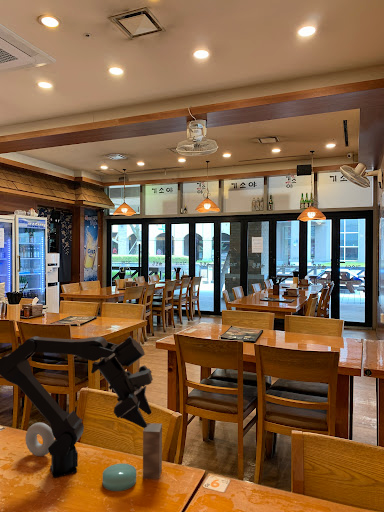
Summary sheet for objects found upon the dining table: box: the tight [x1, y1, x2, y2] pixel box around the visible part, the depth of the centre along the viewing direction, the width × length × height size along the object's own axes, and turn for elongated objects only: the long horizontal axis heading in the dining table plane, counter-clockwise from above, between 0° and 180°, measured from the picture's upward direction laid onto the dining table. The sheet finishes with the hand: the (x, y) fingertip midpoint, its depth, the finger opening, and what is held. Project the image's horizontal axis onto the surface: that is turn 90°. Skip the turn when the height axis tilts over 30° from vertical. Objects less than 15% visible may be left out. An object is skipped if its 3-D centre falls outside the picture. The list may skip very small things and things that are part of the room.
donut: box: [24, 422, 55, 457], centre depth 119 cm, size 10×4×10 cm, turn 71°
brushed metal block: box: [142, 422, 163, 480], centre depth 110 cm, size 5×5×13 cm
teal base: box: [102, 463, 137, 492], centre depth 106 cm, size 9×9×2 cm
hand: (148, 420), depth 110 cm, fingers open, 9 cm apart
